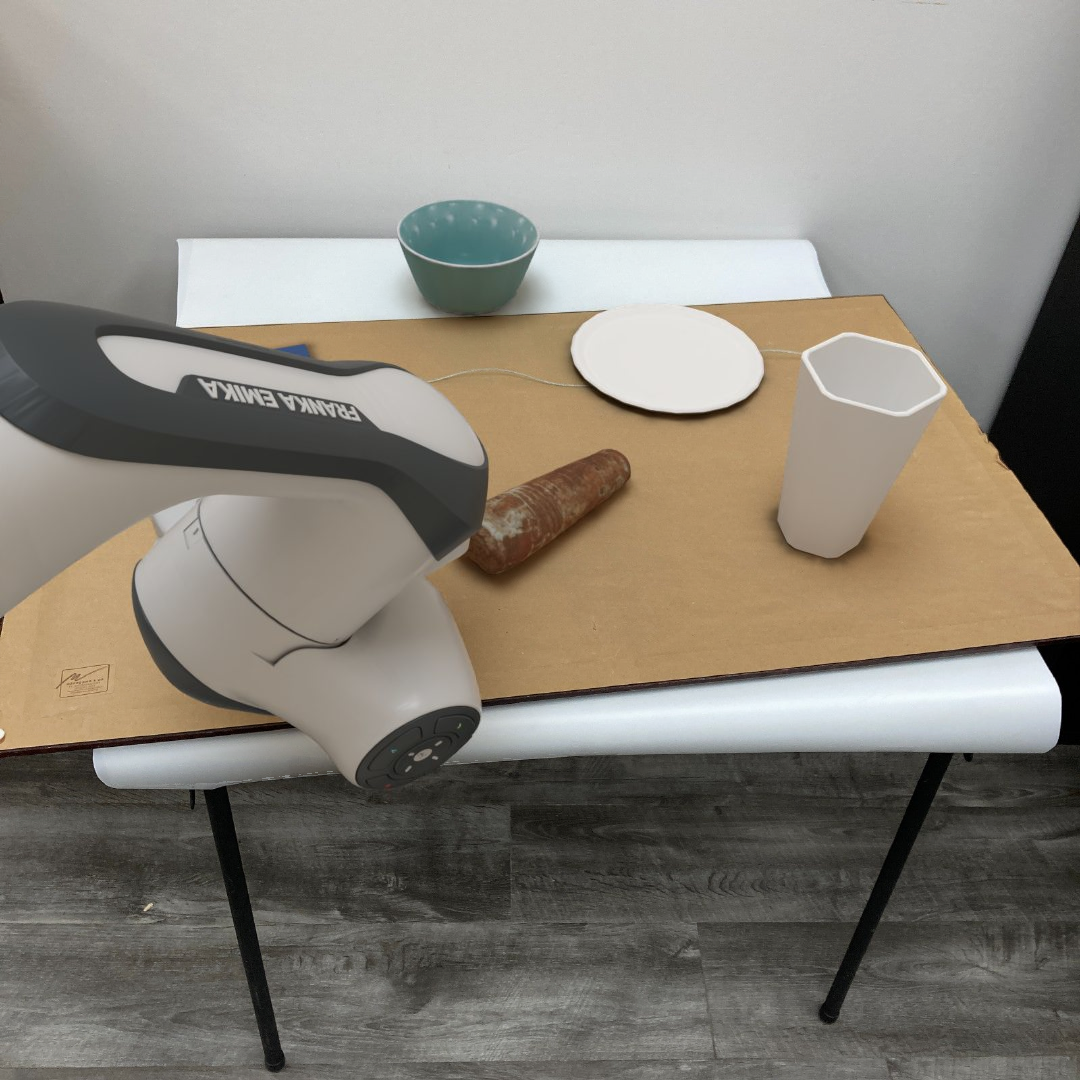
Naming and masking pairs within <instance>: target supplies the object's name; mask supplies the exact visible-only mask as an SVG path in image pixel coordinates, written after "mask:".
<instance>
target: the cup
mask: <svg viewBox="0 0 1080 1080" xmlns="http://www.w3.org/2000/svg"><path fill="white" fill-rule="evenodd" d="M947 394H948V387H947V385H946V384H945V383H944V381H943V380H942V378H941V377H940V376H939V374H938V373H937V372H936V370H935V369H934V368H933V366H932V365H931V364H930V362H929V361H928V360H927V359H926V357H925V355H924V354H923V353H922V351H920V350H918V349H917V348H915V347H913V346H910V345H906V344H901V343H898V342H894V341H889V340H885V339H882V338H878V337H875V336H874V337H873V336H869V335H866V334H861V333H857V332H852V331H851V332H842V333H839V334H838V335H836V336H833V337H831V338H829V339H826V340H824V341H822V342H820V343H818V344H816V345H814V346H812V347H809V348H807V349H805V350H803V352H802V354H801V357H800V364H799V370H798V375H797V384H796V390H795V396H794V403H793V411H792V417H791V424H790V430H789V438H788V444H787V452H786V457H785V465H784V470H783V471H784V472H783V477H782V485H781V492H780V499H779V504H778V505H779V506H778V511H777V519H776V521H777V524H778V526H779V528H780V530H781V532H782V534H783V537H784V538H785V541H786V543H787V544H789V545H790V546H791V547H792V548H794V549H796V550H799V551H802V552H805V553H808V554H811V555H815V556H819V557H821V558H824V559H837V558H839V557H841V556H843V555H844V554H846V553H847V552H849V551H850V550H852V549H853V548H855V547H856V546H858V545H859V543H860V542H861V541H862V539H863V538H864V536H865V534H866V532H867V530H868V528H869V527H870V525H871V524H872V522H873V520H874V518H875V517H876V515H877V513H878V511H879V510H880V509H881V507H882V505H883V503H884V501H885V500H886V498H887V497H888V495H889V493H890V491H891V489H892V488H893V486H894V485H895V483H896V481H897V479H898V478H899V476H900V474H901V472H902V471H903V470H904V467H905V466H906V464H907V462H908V461H909V459H910V457H911V456H912V454H913V452H914V451H915V449H916V448H917V445H918V444H919V442H920V440H921V439H922V437H923V436H924V434H925V432H926V430H927V429H928V427H929V425H930V423H931V422H932V420H933V418H934V417H935V415H936V413H937V412H938V410H939V408H940V407H941V405H942V403H943V401H944V400H945V398H946V396H947Z"/></svg>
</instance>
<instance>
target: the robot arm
mask: <svg viewBox="0 0 1080 1080" xmlns="http://www.w3.org/2000/svg"><path fill="white" fill-rule="evenodd" d="M275 349H276V348H270V347H266V346H262V345H257V344H254V343H250V342H245V341H241V340H237V339H232V338H228V337H224V336H220V335H216V334H211V333H207V332H203V331H199V330H194V329H190V328H185V327H182V326H177V325H173V324H168V323H164V322H160V321H156V320H150V319H146V318H143V317H137V316H133V315H129V314H124V313H119V312H114V311H109V310H105V309H101V308H100V309H99V308H94V307H89V306H84V305H79V304H72V303H67V302H59V301H58V302H57V301H49V300H38V299H37V300H35V299H31V300H30V299H27V300H14V301H10V302H5V303H1V304H0V619H1V618H3V617H4V616H6V615H7V614H8V613H9V612H11V611H12V610H13V609H14V608H16V607H17V606H18V605H19V604H21V603H22V602H24V601H25V600H26V599H28V598H29V597H30V596H32V595H33V594H34V593H36V592H37V591H39V589H41V588H43V587H44V586H46V584H48V583H49V582H51V581H52V580H53V579H55V578H56V577H57V576H59V575H60V574H62V573H63V572H64V571H66V570H68V568H70V567H71V566H73V565H75V564H76V563H77V562H79V561H80V560H82V559H83V558H85V557H86V556H88V555H89V554H91V553H93V551H95V550H96V549H98V548H100V547H101V546H102V545H104V544H106V543H107V542H109V541H110V540H112V539H113V538H116V537H117V536H118V535H120V534H122V533H123V532H125V531H127V530H128V529H131V528H132V527H133V526H134V527H135V525H137V524H138V523H141V522H142V521H145V520H146V519H150V522H151V525H152V527H153V528H152V529H153V531H154V533H155V534H154V535H155V536H156V539H155V540H154V542H153V544H152V546H151V548H150V549H149V550H148V551H147V552H146V554H145V555H144V556H143V557H142V558H140V559H139V560H138V561H137V562H136V563H135V566H134V568H133V570H132V571H133V572H132V578H131V603H132V604H131V605H132V609H133V613H134V618H135V621H136V624H137V628H138V630H139V632H140V635H141V638H142V641H143V642H144V645H145V647H146V648H147V649H146V650H147V651H148V653H149V655H150V657H151V659H152V661H153V662H154V664H155V665H156V667H157V668H158V670H159V671H160V673H161V674H162V675H163V677H164V678H165V679H166V680H167V681H168V682H169V683H170V684H171V685H172V686H173V687H174V688H175V689H176V690H178V691H180V692H181V693H182V694H184V695H186V696H188V697H190V698H192V699H194V700H196V701H198V702H201V703H204V704H206V705H209V706H212V707H216V708H219V709H224V710H231V711H238V712H244V713H249V714H250V713H251V714H256V715H262V716H269V717H277V718H280V719H282V721H285V722H287V723H288V724H290V725H291V726H293V727H295V728H296V729H297V730H299V731H301V732H303V733H304V734H305V735H306V736H308V737H309V738H310V739H311V740H313V741H314V742H315V743H316V744H317V745H318V746H319V747H320V748H321V749H322V750H323V752H324V753H325V754H326V755H327V756H328V758H329V759H330V760H331V761H332V763H333V764H334V766H335V767H336V768H337V769H338V771H339V772H340V774H342V776H343V777H344V778H345V779H346V780H347V781H348V782H349V783H351V784H352V785H354V786H356V787H359V788H361V789H363V790H369V791H378V790H389V789H394V788H395V789H396V788H398V787H403V786H406V785H408V784H410V783H412V782H414V781H416V780H418V779H421V778H423V777H426V776H428V775H430V773H432V772H433V771H435V770H437V769H438V768H439V767H441V766H442V765H443V764H444V763H446V762H447V761H448V760H450V759H451V758H452V757H453V756H454V755H455V754H457V753H458V752H459V751H460V750H461V749H462V748H463V747H465V745H467V743H468V742H469V741H470V740H471V739H472V738H473V735H474V734H475V733H476V731H477V730H478V728H479V726H480V723H481V720H482V716H483V708H482V707H483V705H482V703H483V702H482V697H481V693H480V687H479V684H478V680H477V676H476V673H475V670H474V666H473V664H472V660H471V658H470V655H469V653H468V649H467V646H466V645H465V641H464V639H463V636H462V634H461V632H460V630H459V627H458V625H457V622H456V620H455V618H454V616H453V614H452V612H451V609H450V608H449V605H448V603H447V602H446V600H445V598H444V596H443V594H442V593H441V592H440V590H439V589H438V588H437V587H436V586H435V585H434V584H433V583H432V582H431V581H429V580H428V578H427V576H429V575H430V574H433V573H434V572H435V571H437V570H439V569H441V568H442V567H444V566H446V565H447V564H449V563H451V562H453V561H455V560H456V559H458V558H460V557H462V555H463V554H464V553H465V552H466V551H467V550H468V547H469V542H470V537H471V536H473V535H474V534H475V533H477V532H478V531H479V530H480V529H481V527H482V522H483V518H484V513H485V507H486V500H488V492H489V478H490V477H489V476H490V475H489V474H490V473H489V472H490V468H489V467H490V465H489V457H488V453H487V450H486V448H485V446H484V444H483V443H482V441H481V439H480V437H479V436H478V434H477V433H476V431H475V430H474V428H473V427H472V426H471V424H470V423H469V421H468V420H467V418H466V417H465V416H464V415H463V414H462V412H461V411H460V410H459V408H457V406H456V405H455V404H453V403H452V401H451V400H450V399H448V398H447V397H446V396H445V394H443V393H442V392H441V391H439V389H437V388H436V387H434V386H433V385H431V384H430V383H428V382H427V381H425V380H424V379H422V378H421V377H419V376H417V375H416V374H414V373H412V372H411V371H409V370H408V369H406V368H404V367H401V366H399V365H396V364H393V363H387V362H382V361H376V360H364V359H363V360H362V359H360V360H359V359H353V360H352V359H351V360H350V359H349V360H348V359H346V360H345V359H343V360H324V359H323V360H322V359H318V358H314V357H310V358H309V357H305V356H301V355H296V354H292V353H288V352H284V351H279V350H275Z"/></svg>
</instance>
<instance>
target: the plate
mask: <svg viewBox="0 0 1080 1080" xmlns="http://www.w3.org/2000/svg"><path fill="white" fill-rule="evenodd" d="M570 345H571V346H570V354H571V358H572V362H573V365H574V367H575V369H576V370H577V371H578V373H579V374H580V375H581V377H582V378H583V379H584V381H585V382H587V383H588V384H589V385H590V386H591V387H593V388H594V389H596V390H597V391H598V392H600V393H601V394H603V395H604V396H607V397H609V398H611V399H613V400H615V401H617V402H618V403H621V404H623V405H626V406H629V407H633V408H637V409H641V410H644V411H647V412H652V413H660V414H668V415H675V416H676V415H678V416H679V415H703V414H707V413H711V412H716V411H722V410H726V409H728V408H730V407H732V406H735V405H737V404H739V403H741V402H743V401H746V399H747V398H749V397H750V396H751V395H752V394H753V393H754V392H755V391H756V390H757V389H758V388H759V386H760V385H761V381H762V379H763V377H764V374H765V366H764V364H765V363H764V357H763V356H762V353H761V352H760V350H759V348H758V346H757V345H756V342H754V341H753V340H752V339H751V338H750V337H749V336H748V335H747V334H746V333H745V332H744V331H743V330H742V329H740V328H738V327H737V326H736V325H734V324H733V323H730V321H728V320H726V319H724V318H722V317H719V316H716V315H714V314H712V313H710V312H707V311H704V310H701V309H696V308H692V307H688V306H685V305H678V304H671V303H664V302H663V303H661V302H650V303H649V302H647V303H646V302H645V303H642V302H641V303H632V304H625V305H621V306H615V307H611V308H609V309H607V310H604V311H601V312H599V313H596V314H594V316H592V317H591V318H589V319H587V320H586V321H584V322H583V323H582V324H581V325H580V326H579V328H578V329H577V330H576V331H575V333H574V334H573V336H572V340H571V344H570Z"/></svg>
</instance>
